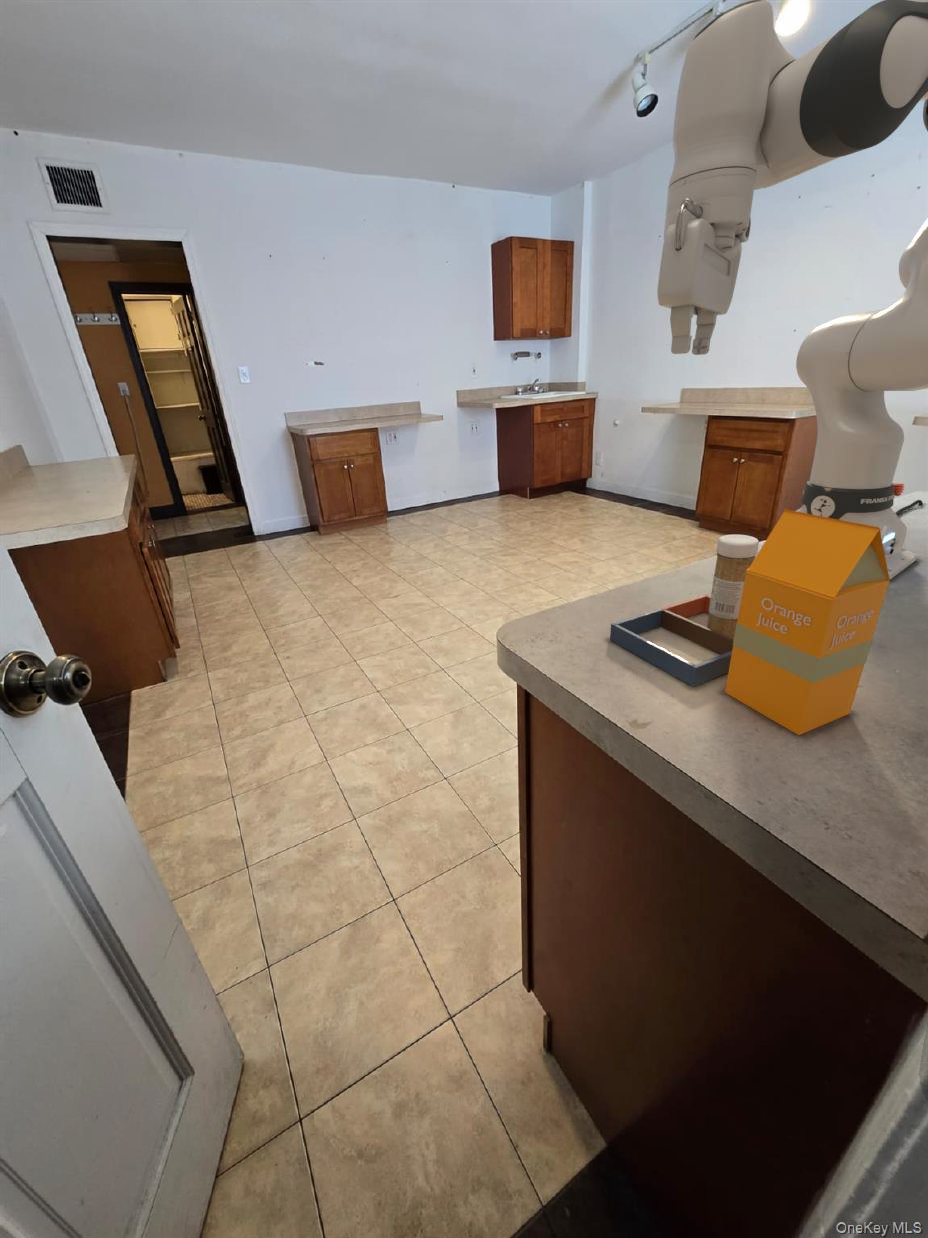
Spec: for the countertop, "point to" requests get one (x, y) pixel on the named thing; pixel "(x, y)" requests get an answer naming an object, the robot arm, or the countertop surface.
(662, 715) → the countertop surface
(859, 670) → the orange juice
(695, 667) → the sorting tray
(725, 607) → the sprinkles bottle
